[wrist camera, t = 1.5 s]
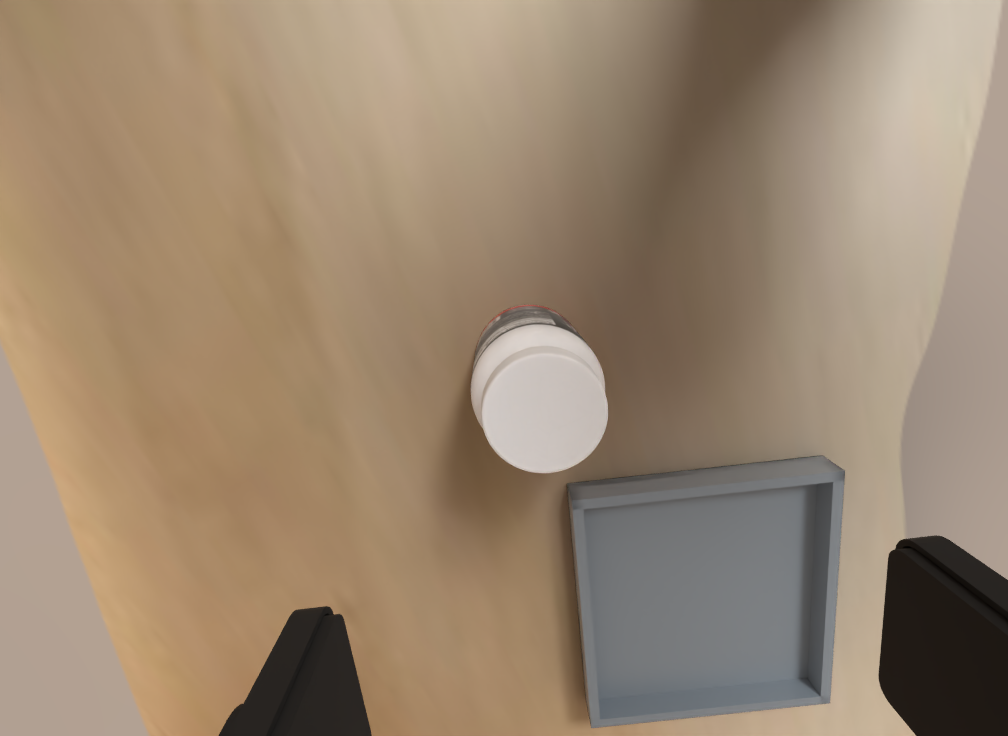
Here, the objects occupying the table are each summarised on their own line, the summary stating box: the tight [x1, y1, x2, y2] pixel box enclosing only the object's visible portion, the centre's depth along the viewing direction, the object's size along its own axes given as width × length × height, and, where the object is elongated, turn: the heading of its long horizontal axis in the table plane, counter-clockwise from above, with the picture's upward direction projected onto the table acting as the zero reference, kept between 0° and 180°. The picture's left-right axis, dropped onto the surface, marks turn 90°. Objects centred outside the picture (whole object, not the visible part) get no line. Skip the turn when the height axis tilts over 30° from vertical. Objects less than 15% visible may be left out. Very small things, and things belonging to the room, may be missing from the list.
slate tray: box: [567, 455, 845, 728], centre depth 31 cm, size 16×15×2 cm
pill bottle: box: [471, 305, 608, 473], centre depth 24 cm, size 6×6×10 cm
